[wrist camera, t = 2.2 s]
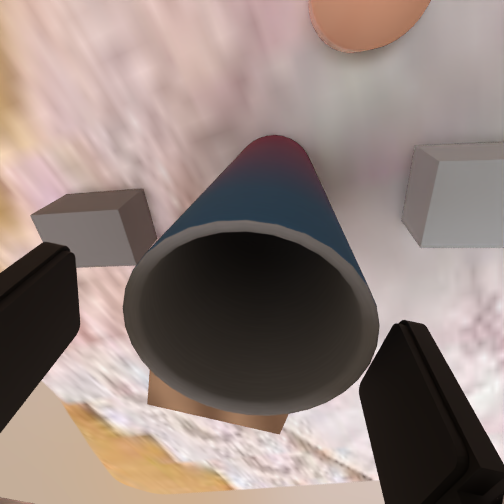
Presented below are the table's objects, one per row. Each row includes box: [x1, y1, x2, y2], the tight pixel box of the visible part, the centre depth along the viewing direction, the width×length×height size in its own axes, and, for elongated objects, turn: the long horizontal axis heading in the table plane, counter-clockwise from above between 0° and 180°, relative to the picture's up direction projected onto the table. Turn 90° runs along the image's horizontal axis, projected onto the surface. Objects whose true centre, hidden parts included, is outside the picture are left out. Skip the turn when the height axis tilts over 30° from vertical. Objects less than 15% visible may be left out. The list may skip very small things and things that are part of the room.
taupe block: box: [30, 189, 157, 268], centre depth 23 cm, size 6×4×4 cm, turn 96°
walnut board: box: [147, 370, 288, 434], centre depth 31 cm, size 14×14×1 cm
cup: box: [123, 135, 379, 416], centre depth 15 cm, size 7×7×15 cm
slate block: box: [401, 142, 504, 248], centre depth 19 cm, size 5×5×4 cm
